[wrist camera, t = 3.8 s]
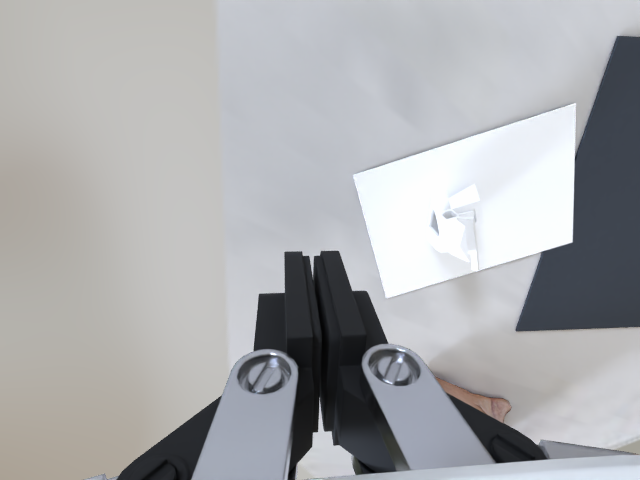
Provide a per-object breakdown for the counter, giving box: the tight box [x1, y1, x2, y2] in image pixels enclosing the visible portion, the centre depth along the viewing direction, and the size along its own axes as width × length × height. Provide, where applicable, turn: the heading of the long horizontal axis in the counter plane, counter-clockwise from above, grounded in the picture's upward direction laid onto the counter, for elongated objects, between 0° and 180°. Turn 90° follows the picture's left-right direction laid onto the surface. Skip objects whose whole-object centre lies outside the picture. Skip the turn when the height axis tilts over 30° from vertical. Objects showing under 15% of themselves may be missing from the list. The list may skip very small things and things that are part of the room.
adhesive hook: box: [426, 183, 485, 272], centre depth 16 cm, size 3×3×3 cm
